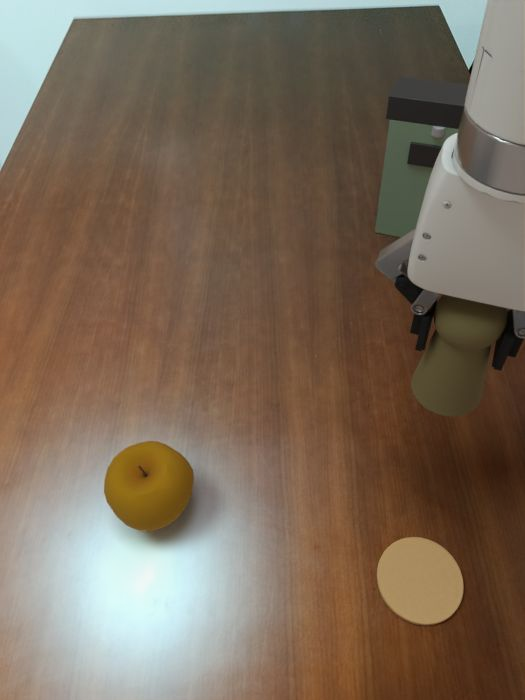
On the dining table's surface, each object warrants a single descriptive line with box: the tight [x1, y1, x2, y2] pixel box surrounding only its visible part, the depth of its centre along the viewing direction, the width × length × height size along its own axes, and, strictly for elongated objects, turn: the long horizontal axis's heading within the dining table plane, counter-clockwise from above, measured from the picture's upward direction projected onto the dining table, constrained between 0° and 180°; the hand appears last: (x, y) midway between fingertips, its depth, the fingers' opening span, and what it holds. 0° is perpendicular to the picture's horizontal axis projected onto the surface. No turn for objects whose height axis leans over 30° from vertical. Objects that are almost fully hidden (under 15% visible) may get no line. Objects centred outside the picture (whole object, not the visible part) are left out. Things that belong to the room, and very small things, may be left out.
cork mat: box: [376, 536, 465, 627], centre depth 55 cm, size 8×8×1 cm
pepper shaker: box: [410, 294, 508, 418], centre depth 46 cm, size 6×6×11 cm
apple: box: [103, 440, 195, 532], centre depth 58 cm, size 9×8×9 cm
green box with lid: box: [374, 75, 469, 238], centre depth 77 cm, size 13×6×21 cm, turn 70°
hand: (460, 345), depth 46 cm, fingers closed on pepper shaker, 5 cm apart
